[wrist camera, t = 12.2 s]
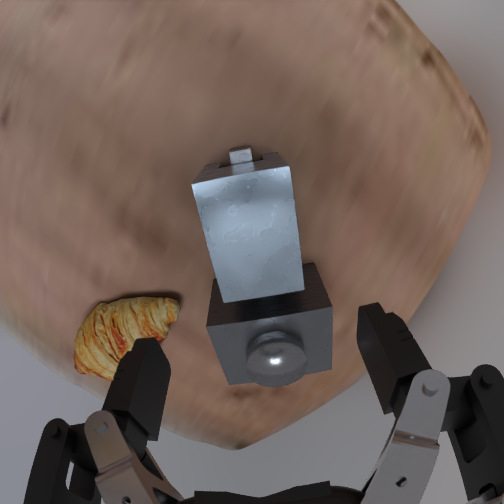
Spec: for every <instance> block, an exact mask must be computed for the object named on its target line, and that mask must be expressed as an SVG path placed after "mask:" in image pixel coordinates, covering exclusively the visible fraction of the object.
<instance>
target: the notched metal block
mask: <svg viewBox="0 0 504 504" xmlns="http://www.w3.org/2000/svg"><path fill="white" fill-rule="evenodd" d="M192 188H193V192H194V196H195V200H196V204H197V208H198V212H199V216H200V220H201V223H202V227H203V231H204V235H205V238H206V242H207V246H208V249H209V253H210V257H211V260H212V264H213V267H214V271H215V275H216V278H217V281H218V285H219V288H220V292H221V295H222V299H223V302H224V303H227V302H234V301H240V300H247V299H253V298H259V297H266V296H272V295H278V294H284V293H289V292H295V291H301V290H304V280H303V270H302V261H301V251H300V242H299V234H298V226H297V218H296V210H295V202H294V195H293V188H292V181H291V174H290V167H289V165H288V164H287V163H286V162H285V161H284V160H283V158H282V157H281V156H280V155H279V154H278V153H277V152H275V153H269V154H263V155H262V160H260V161H254V162H248V163H243V164H237V165H232V166H227V167H222V163H221V162H220V163H215V164H210V165H206V166H205V168H204V169H203V170H202V171H201V173H200V174H199V175H198V177H197V178H196V179H195V180H194V182H193V183H192Z"/></svg>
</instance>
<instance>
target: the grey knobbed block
mask: <svg viewBox="0 0 504 504" xmlns="http://www.w3.org/2000/svg"><path fill="white" fill-rule="evenodd" d="M229 155H230V160H231V165H237V164H243V163H248V162H253V160H252V154H251V149H250V145H249V146H243V147H238V148H233V149H230V151H229ZM302 270H303V280H304V290H301V291H295V292H289V293H284V294H278V295H272V296H266V297H259V298H253V299H247V300H240V301H234V302H227V303H224V302H223V299H222V295H221V292H220V288H219V285H218V281H217V279H214V281H213V287H212V293H211V299H210V305H209V311H208V318H207V324H206V328H207V330H208V333H209V336H210V338H211V341H212V344H213V346H214V349H215V351H216V354H217V356H218V359H219V361H220V364H221V366H222V369H223V371H224V374H225V376H226V379H227V381H228V383H229V385H233V384H243V383H252V382H255V383H257V384H259V385H262V386H268V387H279V386H285V385H288V384H291V383H293V382H295V381H297V380H299V379H300V378H301V377H302V376H303V375H305V374H311V373H316V372H321V371H326V370H331V369H332V328H333V317H332V304H331V302H330V299H329V297H328V295H327V292H326V290H325V287H324V285H323V282H322V280H321V278H320V275H319V273H318V271H317V268H316V266H315V264H314V263H310V264H304V265H302Z"/></svg>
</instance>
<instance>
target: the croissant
mask: <svg viewBox="0 0 504 504" xmlns="http://www.w3.org/2000/svg"><path fill="white" fill-rule="evenodd" d="M179 311H180V306H179V304H178V301H176V300H174V299H171V298H167V297H166V298H161V297H159V298H152V297H137V298H127V299H120V300H118V301H114V302H111V303H109V304H107V303H99V304H98V305H97V306H96V307H95V308H94V309H93V310H92V312H91V313H90V314H89V316H88V317H87V318H86V319H85V321H84V322H83V324H82V325H81V327H80V328H79V329H78V333H77V336H76V339H75V351H74V352H75V353H74V362H75V369H76V370H77V371H78V372H79V373H80V374H89V375H97V376H99V377H101V378H104V379H106V380H109V381H112V380H113V377H114V374H115V372H116V369H117V366H118V364H119V361H120V360H121V358H122V357H123V356H124V355H125V354H126V352H127V351H131V350H132V347H133V344H134V342H135V340H136V339H137V338H148V337H155V338H156V339H157V341H158V343H159V344H160V343H161V342H162V341H163V340H164V339H166V338H167V335H168V330H169V329H170V323H173V322H175V321H176V320H177V316H178V314H179Z"/></svg>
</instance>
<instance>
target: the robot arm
mask: <svg viewBox="0 0 504 504" xmlns="http://www.w3.org/2000/svg"><path fill="white" fill-rule="evenodd" d="M357 344H358V348H359V350H360V353H361V355H362V358H363V360H364V363H365V365H366V368H367V370H368V373H369V375H370V378H371V380H372V383H373V385H374V388H375V391H376V393H377V396H378V399H379V402H380V404H381V407H382V410H383V413H384V414H388V413H391V412H393V413H394V416H395V418H396V419H395V421H394V424H393V427H392V429H391V432H390V434H389V436H388V438H387V441H386V443H385V445H384V448H383V450H382V452H381V454H380V456H379V458H378V460H377V462H376V464H375V466H374V468H373V470H372V471H371V473H370V475H369V477H368V479H367V481H366V483H365V484H364V486H363V488H362V490H361V491H359V490H356V489H352V488H348V487H342V486H330V481H325V482H320V483H315V484H309V485H303V486H296V487H293V488H291V489H287V490H284V491H281V492H278V493H275V494H272V495H269V496H266V497H260V498H258V497H251V496H246V495H240V494H235V493H230V492H211V491H209V492H208V491H195V492H194V497H191V498H188V499H184V498H183V497H182V495H181V494H180V493H179V492H178V491H177V490H176V489H175V488H174V487H173V486H172V485H171V484H170V483H169V481H168V480H167V479H166V477H165V476H164V475H163V473H162V471H161V469H160V468H159V466H158V465H157V463H156V461H155V460H154V458H153V456H152V455H151V453H150V452H149V450H148V448H147V447H146V445H147V440H149V441H158V435H159V430H160V425H161V420H162V415H163V410H164V405H165V400H166V395H167V390H168V385H169V381H170V376H171V368H170V364H169V361H168V359H167V358H166V356H165V354H164V352H163V350H162V348H161V347H160V345H159V343H158V341H157V339H156V338H155V337H148V338H137V339H136V340H135V342H134V344H133V347H132V350H131V351H127V352H126V354H125V355H124V356H123V357H122V358H121V360H120V361H119V364H118V366H117V369H116V372H115V374H114V377H113V380H112V382H111V385H110V388H109V390H108V393H107V396H106V399H105V402H104V405H103V408H102V410H101V411H97V412H94V413H93V414H91V415H90V416H89V417H88V419H87V420H86V422H85V423H82V424H76V425H71V426H70V425H68V424H67V423H66V422H65V421H64V420H62V419H60V418H56V419H53V420H51V421H50V422H48V424H47V425H46V426H45V428H44V430H43V433H42V436H41V439H40V442H39V445H38V449H37V452H36V455H35V459H34V462H33V466H32V469H31V473H30V477H29V481H28V485H27V489H26V494H25V499H24V504H101V497H102V498H103V501H104V503H105V504H419V502H420V500H421V498H422V496H423V493H424V491H425V489H426V486H427V484H428V481H429V479H430V476H431V473H432V471H433V468H434V465H435V462H436V459H437V456H438V453H439V447H440V446H439V444H438V437H439V434H440V432H442V431H447V432H448V435H449V438H450V440H451V444H452V446H453V449H454V452H455V456H456V459H457V462H458V465H459V469H460V472H461V476H462V479H463V483H464V487H465V490H466V494H467V499H468V503H467V504H504V378H503V376H502V375H501V373H500V371H499V370H498V369H497V368H495V367H494V366H492V365H488V364H484V365H480V366H478V367H476V368H475V369H474V370H473V372H472V374H471V376H463V377H453V378H452V377H451V378H449V377H446V376H445V375H444V374H443V373H442V372H440V371H437V370H433V369H432V368H431V366H430V365H429V363H428V361H427V359H426V357H425V356H424V354H423V353H422V351H421V349H420V347H419V346H418V344H417V342H416V340H415V339H413V335H412V334H411V332H410V331H409V330H408V327H407V326H406V324H405V323H404V321H403V319H401V318H400V317H399V316H397V315H396V314H394V313H393V312H391V313H387V314H386V313H385V312H384V310H383V308H382V307H381V305H380V304H379V303H378V302H376V303H372V304H368V305H363V306H360V307H359V310H358V323H357ZM70 461H71V462H72V463H73V464H74V467H73V472H72V476H71V481H70V486H69V490H68V489H67V487H66V477H67V473H68V468H69V464H70Z"/></svg>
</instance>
